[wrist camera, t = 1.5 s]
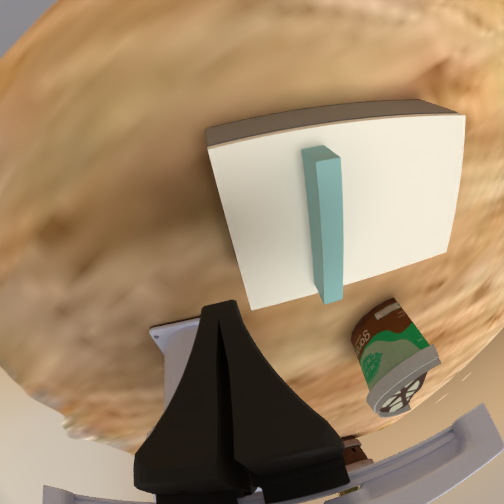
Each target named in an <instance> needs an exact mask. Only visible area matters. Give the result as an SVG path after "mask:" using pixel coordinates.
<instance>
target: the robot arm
mask: <svg viewBox="0 0 504 504" xmlns="http://www.w3.org/2000/svg"><path fill="white" fill-rule="evenodd" d="M149 334H150V335H151V337H152V338H153V340H154V341H155V343H156V344H157V346H158V347H159V348H160V350H161V351H162V353H163V354H164V355H165V358H164V413H163V415H162V416H161V418H160V420H159V421H158V423H157V425H156V426H154V427H153V428H152V430H150V431H149V432H148V433H147V437H146V440H145V442H144V443H143V444H142V446H141V447H140V448H139V450H138V451H137V452H136V453H135V459H134V486H135V487H136V488H137V489H139V490H142V491H145V492H149V493H152V494H153V497H154V502H155V503H154V502H133V501H121V500H111V499H103V498H96V497H89V496H83V495H77V494H73V493H72V492H68V491H66V490H63V489H59V488H54V487H50V486H46V485H44V486H43V504H298V503H302V502H306V501H310V500H314V499H318V498H322V497H325V496H329V495H332V494H335V493H338V492H342V491H345V490H348V489H351V488H354V487H356V486H359V485H361V486H360V487H359V490H357V491H354V492H351V493H348V494H345V495H343V496H340V497H337V498H334V499H331V500H328V501H325V502H324V504H428V503H430V502H431V501H433V500H435V499H437V498H438V497H440V496H441V495H443V494H445V493H446V492H448V491H449V490H451V489H452V488H454V487H455V486H457V485H458V484H460V483H461V482H462V481H464V480H465V479H466V478H468V477H470V476H471V475H472V474H474V473H475V472H476V471H477V470H479V469H480V468H482V467H483V466H484V465H486V464H487V463H488V462H490V461H491V460H492V459H493V458H495V457H496V456H497V455H499V454H500V453H501V452H502V451H503V450H504V443H503V441H502V439H501V437H500V435H499V432H498V430H497V428H496V426H495V424H494V422H493V420H492V418H491V417H490V414H489V412H488V410H487V409H486V406H485V405H484V403H481V404H479V405H478V406H476V407H475V408H473V409H472V410H471V411H469V412H467V413H466V414H464V415H463V416H461V417H460V418H458V419H457V420H456V421H455V422H454V423H453V424H452V425H451V426H449V427H448V428H446V429H444V430H442V431H441V432H439V433H437V434H435V435H433V436H432V437H430V438H428V439H426V440H424V441H422V442H420V443H418V444H416V445H414V446H412V447H410V448H408V449H406V450H404V451H402V452H399V453H397V454H395V455H393V456H390V457H388V458H386V459H383V460H381V461H378V462H376V463H373V464H371V465H368V466H366V467H363V468H360V469H357V470H355V471H352V472H349V473H347V470H346V466H345V464H346V463H345V460H344V457H343V452H344V450H345V445H344V443H343V441H342V439H341V438H340V436H339V435H338V434H337V432H336V431H335V430H334V429H333V428H332V427H331V425H330V424H329V423H328V421H326V420H325V419H324V418H323V417H321V416H320V415H319V414H318V413H317V412H315V411H314V410H313V409H312V408H311V407H310V406H309V405H307V404H306V403H305V402H304V401H303V400H302V399H301V398H300V397H299V396H298V395H297V394H296V393H295V392H294V391H293V390H292V389H291V388H290V387H289V386H288V385H287V384H286V383H285V382H284V381H283V379H282V378H281V377H280V376H279V375H278V374H277V373H276V371H275V370H274V369H273V368H272V366H271V365H270V364H269V363H268V361H267V360H266V359H265V357H264V356H263V354H262V353H261V351H260V350H259V349H258V347H257V346H256V344H255V342H254V341H253V339H252V337H251V336H250V334H249V332H248V331H247V329H246V327H245V325H244V323H243V320H242V317H241V314H240V311H239V308H238V305H237V302H236V301H235V300H229V301H224V302H220V303H216V304H212V305H207V306H204V307H203V308H202V310H201V316H200V318H196V319H191V320H187V321H182V322H178V323H173V324H168V325H163V326H159V327H154V328H151V329H150V331H149ZM156 335H157V336H156Z"/></svg>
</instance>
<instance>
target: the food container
mask: <svg viewBox="0 0 504 504" xmlns="http://www.w3.org/2000/svg"><path fill="white" fill-rule="evenodd" d="M351 340H352V344H353V346H354V349H355V352H356V354H357V357H358V360H359V363H360V365H361V368H362V371H363V374H364V377H365V380H366V382H367V385H368V388H369V391H370V392H369V394H368V396H367V403H368V404H369V406H370V407H371V408H372V410H373V411H374V412H375V413H377V414H378V415H379V416H380V417H392V416H396V415H399V414H402V413H404V412H407V411H409V410H411V408H410V406H409V402H410V399H411V398H412V396H413V395H414V394H415V393H416V392H417V391H418V390H419V389H420V388H421V387H422V385H423V382H424V380H425V377H426V374H427V372H428V371H429V370H431V369H432V368H434V367H436V366H438V365H440V364H441V361H440V360H439V355H438V353H437V351H436V348H435V346H434V344H432V345H429V344H428V342H427V341H426V340H425V338H424V337H423V336H422V334H421V333H420V331H419V330H418V329H417V327H416V326H415V325H414V323H413V322H412V321H411V319H410V318H409V317H408V315H407V314H406V313H405V311H404V310H403V309H402V307H401V306H400V305H399V304H398V302H397V301H396V300H395V298H392V299H390V300H388V301H385V302H384V303H382V304H380V305H379V306H377V307H375V308H374V309H372V310H371V311H370V312H369V313H368V314H366V315H365V316H364V317H363V318H362V319H361V320H360V322H359V323H358V324H357V325H356V326H355V328H354V330H353V332H352V336H351Z"/></svg>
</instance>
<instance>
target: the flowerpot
mask: <svg viewBox="0 0 504 504" xmlns="http://www.w3.org/2000/svg"><path fill="white" fill-rule="evenodd" d="M341 439H342V441H343V443H344V445H345V450H344V452H343V457H344V460H345V463H346V464H345V466H346V470H347V473H349V472H352V471H355V470H357V469H360V468H363V467H366V466H368V465H371V464H373V463H374V462H373V460H372V459H368V458H367V456H366V455H365V453H364V452H363V451H362V449H361V448H360V446H361V443H360V442H359V440H358V439H355V438H354V437H351V436H350V437H344V438H341ZM357 490H358V487H357V486H356V487H354V488H351V489H348V490H345V491H342V492H338V493H340V496H343V495H345V494H348V493H351V492H354V491H357Z"/></svg>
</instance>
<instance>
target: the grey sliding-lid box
mask: <svg viewBox="0 0 504 504" xmlns="http://www.w3.org/2000/svg"><path fill="white" fill-rule="evenodd" d="M445 113H457V112H455V111H452V110H450V109H447V108H444V107H441V106H438V105H435V104H432V103H429V102H426V101H423V100H389V101H372V102H359V103H348V104H338V105H329V106H321V107H314V108H307V109H300V110H293V111H287V112H281V113H276V114H270V115H265V116H260V117H255V118H250V119H245V120H240V121H236V122H231V123H227V124H223V125H219V126H215V127H211V128H207V129H206V138H207V147H209V146H213V145H217V144H221V143H225V142H229V141H234V140H238V139H242V138H247V137H251V136H256V135H261V134H266V133H271V132H276V131H281V130H286V129H292V128H298V127H304V126H310V125H316V124H323V123H330V122H337V121H345V120H354V119H363V118H373V117H384V116H397V115H414V114H445Z"/></svg>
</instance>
